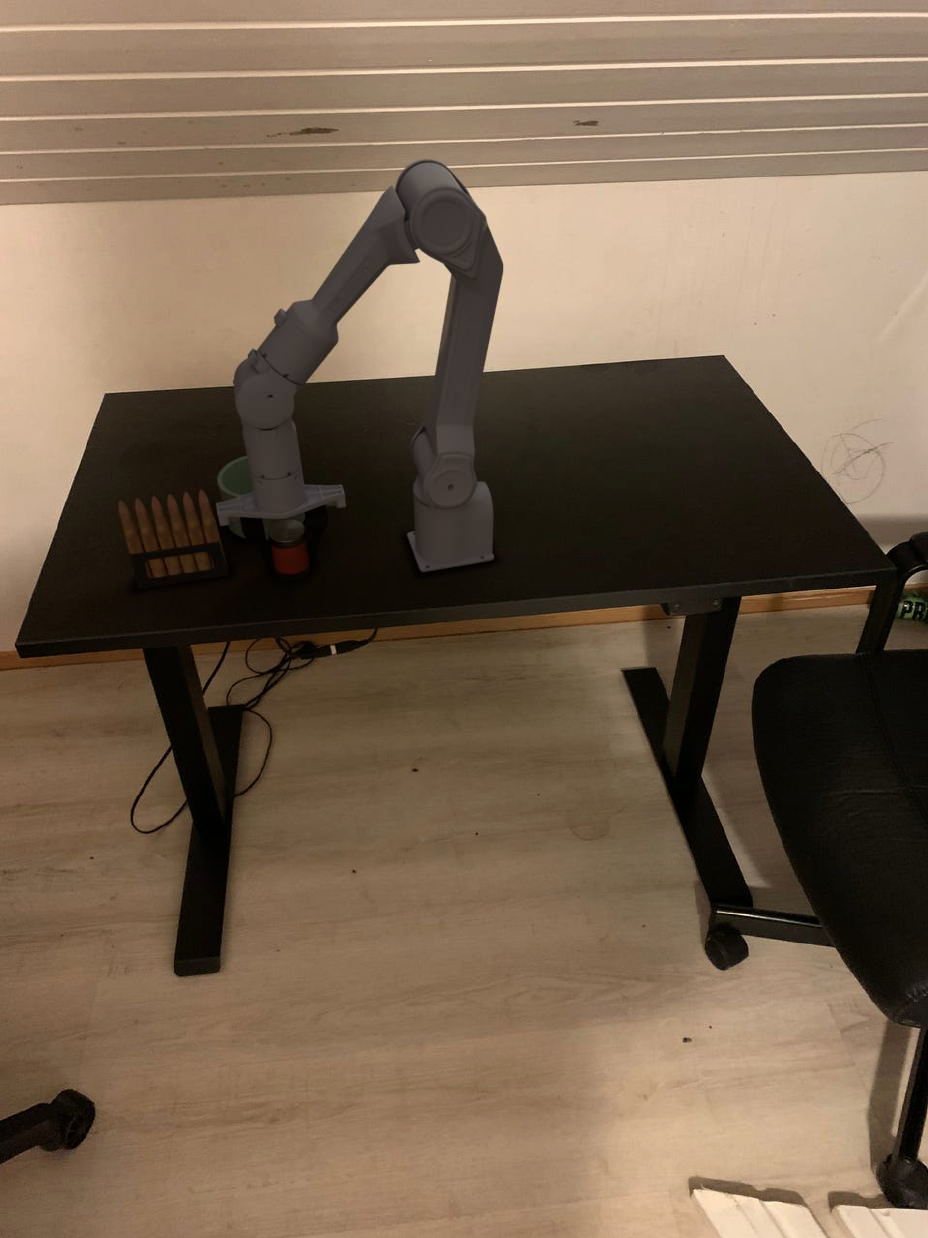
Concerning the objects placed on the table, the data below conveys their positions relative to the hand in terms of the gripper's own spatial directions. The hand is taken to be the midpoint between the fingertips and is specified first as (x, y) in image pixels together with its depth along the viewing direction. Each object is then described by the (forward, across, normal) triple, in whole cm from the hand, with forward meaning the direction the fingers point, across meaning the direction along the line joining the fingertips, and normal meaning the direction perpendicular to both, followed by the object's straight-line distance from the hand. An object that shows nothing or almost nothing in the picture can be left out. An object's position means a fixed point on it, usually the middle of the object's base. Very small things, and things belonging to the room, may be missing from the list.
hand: (291, 560), depth 106 cm
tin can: (+1, 0, 0) cm, 1 cm away
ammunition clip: (+2, +13, -2) cm, 13 cm away
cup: (+1, +2, -12) cm, 12 cm away
